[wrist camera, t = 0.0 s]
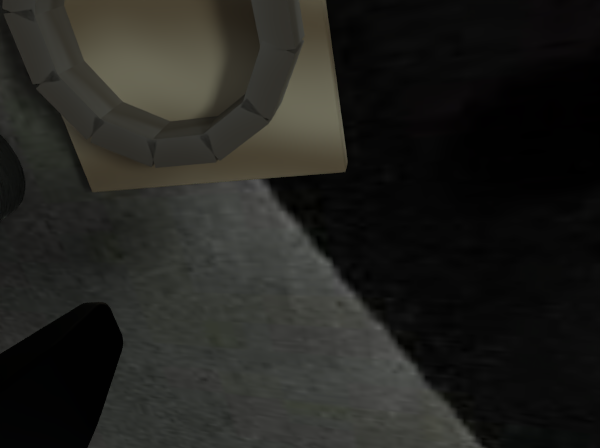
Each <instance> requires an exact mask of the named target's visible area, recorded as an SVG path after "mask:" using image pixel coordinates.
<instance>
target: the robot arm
mask: <svg viewBox="0 0 600 448" xmlns="http://www.w3.org/2000/svg"><path fill="white" fill-rule="evenodd" d="M122 348H123V337H122V334H121V331H120V329H119V327H118V325H117V322H116V320H115V318H114V315H113V313H112V311H111V309H110V307H109V306H108V305H107V304H106V303H103V302H91V303H83V304H81V305H79V306H78V307H76V308H75V309H73V310H71V311H70V312H68V313H66V314H65V315H63V316H61V317H60V318H58V319H57V320H55V321H53V322H52V323H50V324H48V325H47V326H45V327H43V328H42V329H40V330H39V331H37V332H35V333H34V334H32V335H30V336H29V337H27V338H25V339H24V340H22V341H21V342H19V343H17V344H16V345H14V346H12V347H11V348H9V349H7V350H6V351H4V352H2V353H1V354H0V448H87V447H88V445H89V443H90V441H91V438H92V436H93V434H94V431H95V429H96V426H97V424H98V421H99V418H100V415H101V413H102V410H103V407H104V404H105V401H106V398H107V395H108V391H109V388H110V385H111V382H112V379H113V376H114V373H115V370H116V367H117V364H118V361H119V358H120V355H121V352H122Z"/></svg>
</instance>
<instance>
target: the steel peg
mask: <svg viewBox="0 0 600 448" xmlns="http://www.w3.org/2000/svg"><path fill="white" fill-rule="evenodd" d="M24 194H25V177H24V172H23V169H22V166H21V164H20V161H19V159H18V157H17V156H16V154H15V152H14V151H13V149H12V148H11V146H10V145H9V144H8V143H7V141H6V140H5V139H4V138H3V137H2V136H1V135H0V222H1V221H2V220H3V219H5V218H6V217H7V216H8V215H9V214H11V213H12V212H13V211H14V210H16V209H17V207H18V206H19V205H20V203H21V202H22V200H23V197H24Z"/></svg>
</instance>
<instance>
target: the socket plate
mask: <svg viewBox="0 0 600 448" xmlns="http://www.w3.org/2000/svg"><path fill="white" fill-rule="evenodd" d="M2 9H4V10H7V11H9V12H8V13H5V14H4V17H5V19H6V22H7V24H8V26H9V29H10V31H11V34H12V36H13V38H14V41H15V43H16V45H17V48H18V50H19V53H20V55H21V57H22V60H23V62H24V65H25V67H26V69H27V72H28V74H29V76H30V79H31V81H32V84H40V83H41V84H40V85H39V86H38V87H37V88H36V90H37V91H38V92H39V93H40V94H41V95H42V96H43V97H44V98H45V99H46V100H47V101H48V102H49V103H50V104H51V105H52V106H53V107H54V108H55V109H56V110H57V111H58V112H59V113H60V114H61V115H62V118H63V120H64V123H65V125H66V128H67V130H68V133H69V135H70V138H71V140H72V143H73V145H74V148H75V150H76V152H77V155H78V157H79V160H80V162H81V165H82V167H83V170H84V172H85V175H86V177H87V180H88V182H89V185H90V187H91V190H92V192H102V191H114V190H127V189H139V188H152V187H164V186H176V185H189V184H201V183H214V182H226V181H239V180H251V179H263V178H276V177H288V176H301V175H313V174H325V173H338V172H345V171H346V167H347V162H348V161H347V154H346V146H345V139H344V132H343V124H342V117H341V110H340V102H339V95H338V88H337V80H336V73H335V66H334V58H333V51H332V44H331V36H330V29H329V22H328V14H327V7H326V0H3V3H2Z"/></svg>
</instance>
